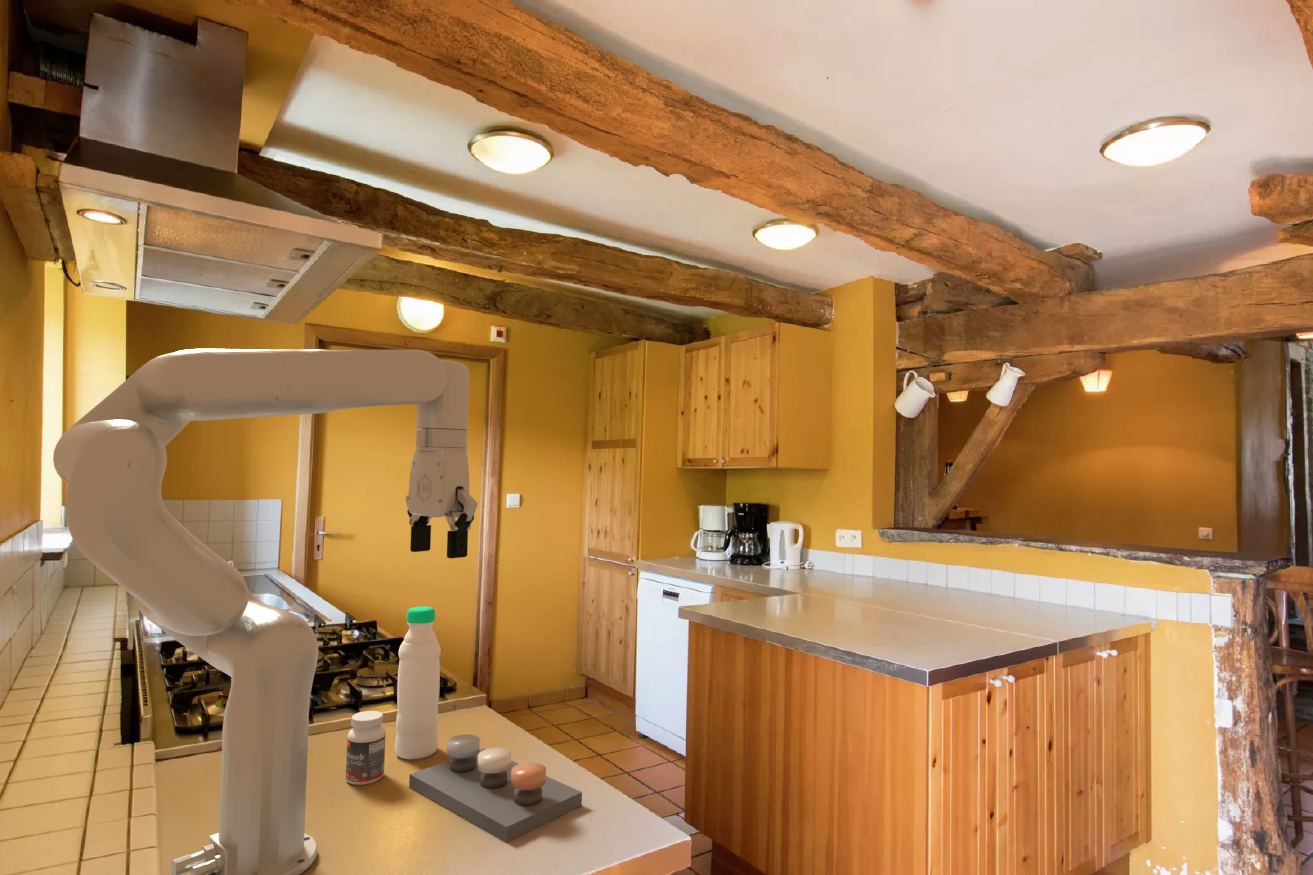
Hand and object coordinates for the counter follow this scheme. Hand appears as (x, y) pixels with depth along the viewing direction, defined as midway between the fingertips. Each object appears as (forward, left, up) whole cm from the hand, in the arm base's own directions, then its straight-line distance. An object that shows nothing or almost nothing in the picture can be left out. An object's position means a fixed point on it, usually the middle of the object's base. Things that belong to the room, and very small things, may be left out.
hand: (438, 554), depth 109 cm
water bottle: (+8, +17, -37) cm, 42 cm away
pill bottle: (-3, +14, -37) cm, 40 cm away
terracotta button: (+7, -14, -32) cm, 36 cm away
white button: (+7, -6, -32) cm, 34 cm away
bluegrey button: (+7, +2, -32) cm, 33 cm away
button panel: (+7, -6, -37) cm, 38 cm away
